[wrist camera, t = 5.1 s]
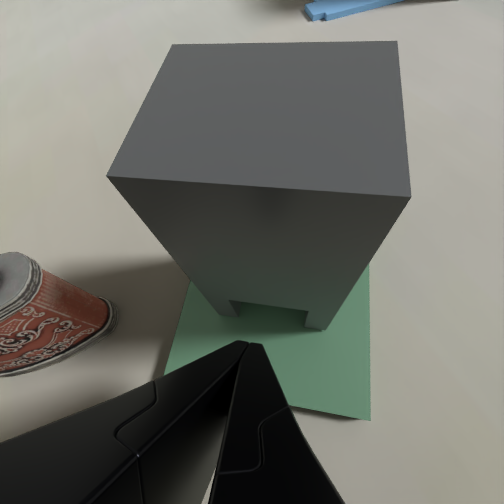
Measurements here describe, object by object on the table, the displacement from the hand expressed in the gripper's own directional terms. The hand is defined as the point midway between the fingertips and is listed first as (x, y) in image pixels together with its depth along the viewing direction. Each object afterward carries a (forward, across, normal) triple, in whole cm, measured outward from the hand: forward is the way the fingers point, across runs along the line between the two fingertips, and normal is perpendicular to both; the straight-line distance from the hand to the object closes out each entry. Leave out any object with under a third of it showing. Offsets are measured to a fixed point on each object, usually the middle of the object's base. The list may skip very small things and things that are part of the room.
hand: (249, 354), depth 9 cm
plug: (+9, 0, -1) cm, 9 cm away
